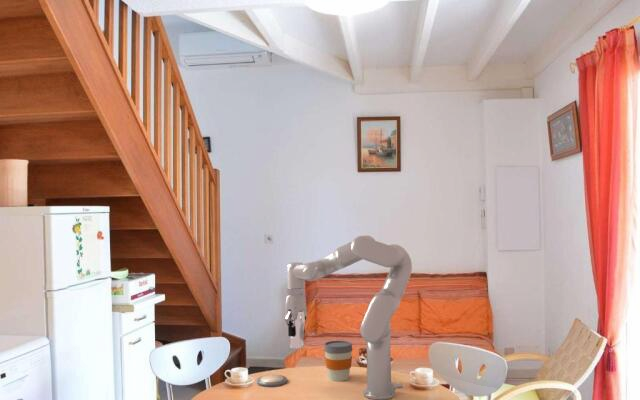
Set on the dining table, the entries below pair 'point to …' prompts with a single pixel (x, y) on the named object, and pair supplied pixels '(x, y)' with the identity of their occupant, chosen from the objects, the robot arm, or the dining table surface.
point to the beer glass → (298, 331)
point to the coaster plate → (271, 380)
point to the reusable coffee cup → (338, 359)
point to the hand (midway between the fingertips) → (296, 334)
